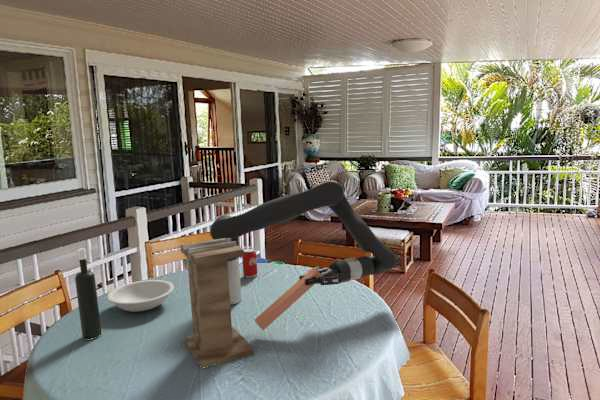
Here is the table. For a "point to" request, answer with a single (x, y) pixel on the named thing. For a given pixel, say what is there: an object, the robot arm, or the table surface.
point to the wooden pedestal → (213, 303)
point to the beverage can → (249, 263)
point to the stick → (285, 300)
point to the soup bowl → (140, 295)
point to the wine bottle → (87, 299)
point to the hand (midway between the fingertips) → (302, 280)
